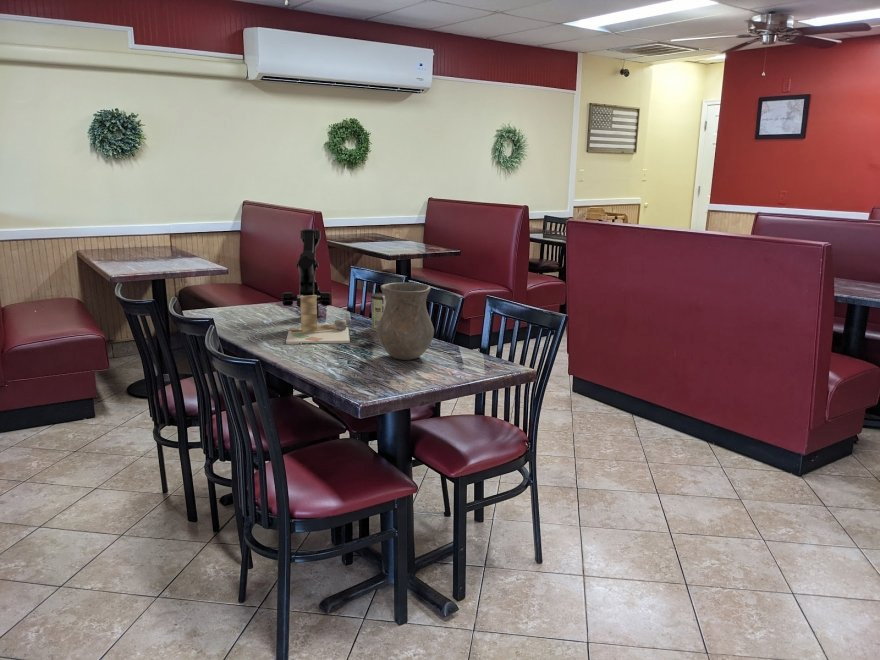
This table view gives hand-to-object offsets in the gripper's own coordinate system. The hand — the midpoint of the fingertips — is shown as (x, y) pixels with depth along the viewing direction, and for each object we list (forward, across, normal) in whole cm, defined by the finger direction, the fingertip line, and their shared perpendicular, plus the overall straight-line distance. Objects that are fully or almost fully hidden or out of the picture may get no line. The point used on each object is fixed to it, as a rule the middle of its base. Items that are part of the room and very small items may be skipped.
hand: (306, 317), depth 267 cm
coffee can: (0, -30, -10) cm, 32 cm away
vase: (+31, -34, +22) cm, 51 cm away
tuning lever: (+4, -5, -3) cm, 7 cm away
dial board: (+8, -5, -1) cm, 9 cm away
